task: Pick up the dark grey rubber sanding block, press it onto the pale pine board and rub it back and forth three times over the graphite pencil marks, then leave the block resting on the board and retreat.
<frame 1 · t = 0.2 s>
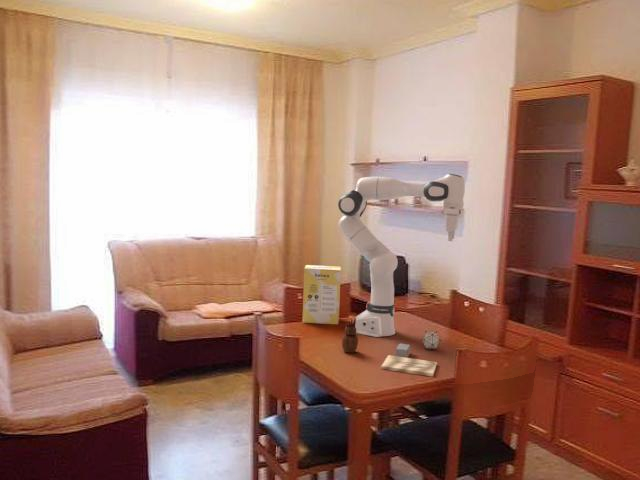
hand: (451, 240, 245), 48 cm above the table, fingers open, 8 cm apart
grey spiky ball: (430, 349, 237), on the table
wooden figurine: (349, 352, 229), on the table
board: (409, 366, 213), on the table
sanding block: (402, 355, 227), on the table
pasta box: (320, 321, 277), on the table
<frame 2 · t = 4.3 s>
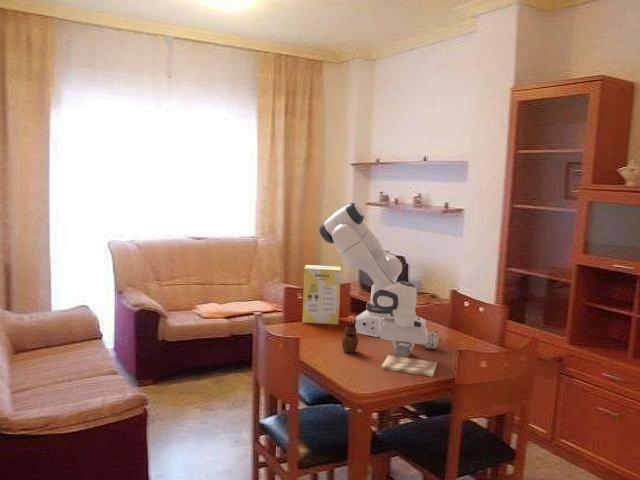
hand: (402, 351, 227), 2 cm above the table, fingers closed on sanding block, 5 cm apart
sanding block: (402, 355, 227), on the table, touching gripper
everything else where it was.
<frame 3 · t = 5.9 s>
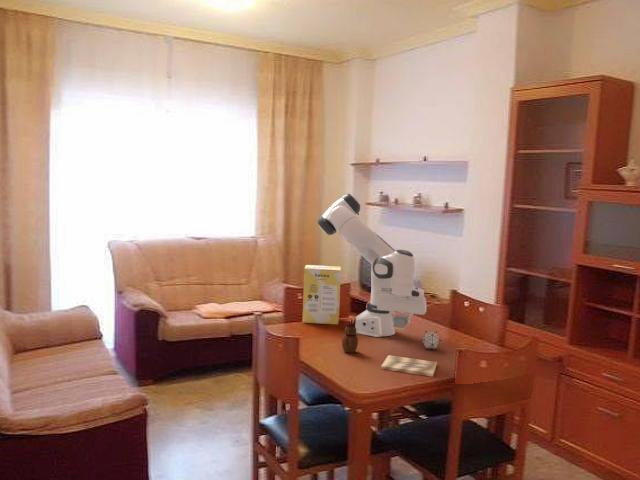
hand: (400, 322, 221), 15 cm above the table, fingers closed on sanding block, 4 cm apart
sanding block: (400, 326, 221), point 13 cm above the table, touching gripper
everything else where it was.
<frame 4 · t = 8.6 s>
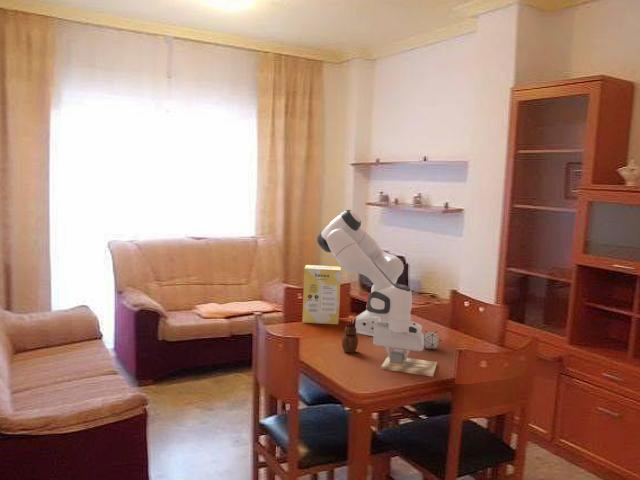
hand: (397, 358, 214), 3 cm above the table, fingers closed on sanding block, 4 cm apart
sanding block: (397, 362, 214), point 1 cm above the table, touching gripper
everything else where it was.
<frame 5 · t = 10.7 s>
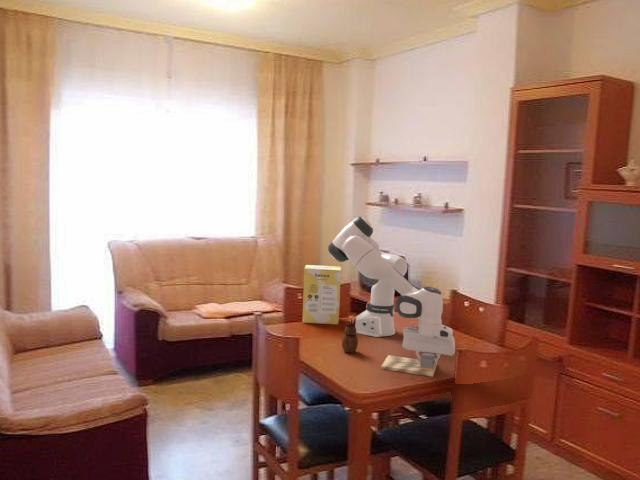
hand: (427, 362, 211), 3 cm above the table, fingers closed on sanding block, 4 cm apart
sanding block: (427, 366, 211), point 1 cm above the table, touching gripper
everything else where it was.
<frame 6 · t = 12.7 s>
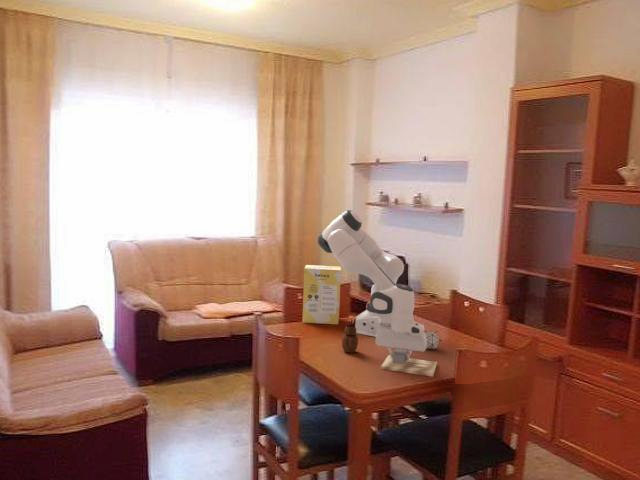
hand: (399, 358, 214), 3 cm above the table, fingers closed on sanding block, 4 cm apart
sanding block: (399, 362, 214), point 1 cm above the table, touching gripper
everything else where it was.
when the fingers open (4 cm above the table, at t = 17.0 s): sanding block stays where it is, resting on board.
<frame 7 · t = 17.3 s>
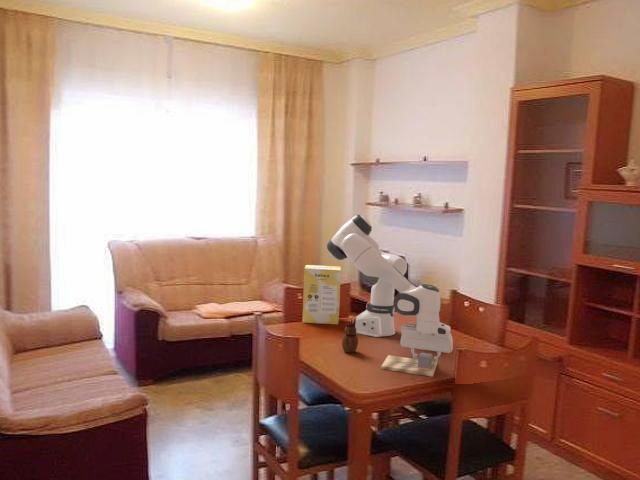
hand: (425, 360, 211), 4 cm above the table, fingers open, 7 cm apart
sanding block: (424, 366, 211), point 1 cm above the table, touching board
everything else where it was.
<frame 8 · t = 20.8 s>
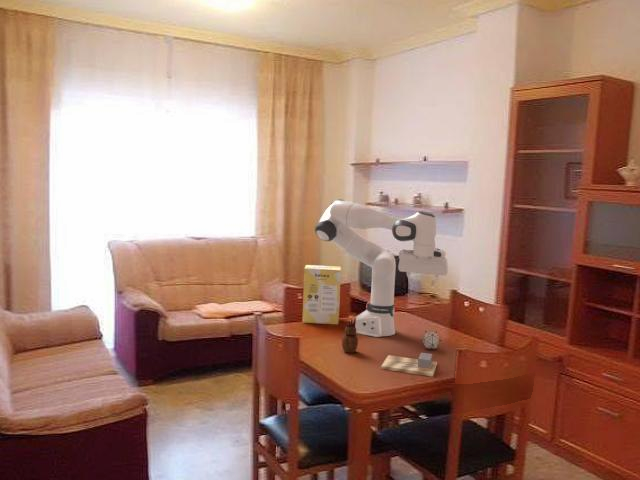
hand: (421, 283, 223), 31 cm above the table, fingers open, 8 cm apart
nothing on the table moved.
at the end: sanding block inside the target area on the board (5.8 cm from its centre), point 1.2 cm above the board's base; sanding block tilted 0°; the gripper is holding nothing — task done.
